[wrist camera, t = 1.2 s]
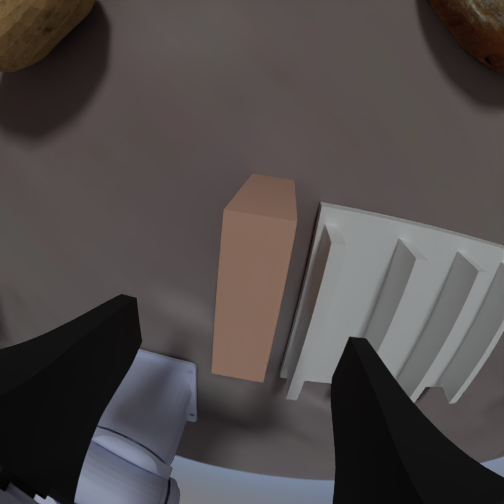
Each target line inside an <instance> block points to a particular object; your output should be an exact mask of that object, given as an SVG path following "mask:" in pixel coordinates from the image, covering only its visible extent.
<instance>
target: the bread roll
mask: <svg viewBox="0 0 504 504" xmlns="http://www.w3.org/2000/svg"><path fill="white" fill-rule="evenodd" d="M428 1H429V3H430V5H431V7H432V9H433V10H434V12H435V13H436V14H437V16H438V17H439V18H440V20H441V21H442V22H443V23H444V24H445V25H446V27H447V28H448V30H449V31H450V32H451V33H452V35H453V36H454V37H455V38H456V40H457V41H458V42H459V44H460V45H461V46H462V47H463V48H464V49H465V50H466V51H467V52H468V53H470V54H471V55H472V56H474V57H475V58H476V59H477V60H479V61H480V62H481V63H483V64H485V65H486V66H488V67H489V68H491V69H492V70H494V71H496V72H499V73H503V74H504V0H428Z"/></svg>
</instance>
